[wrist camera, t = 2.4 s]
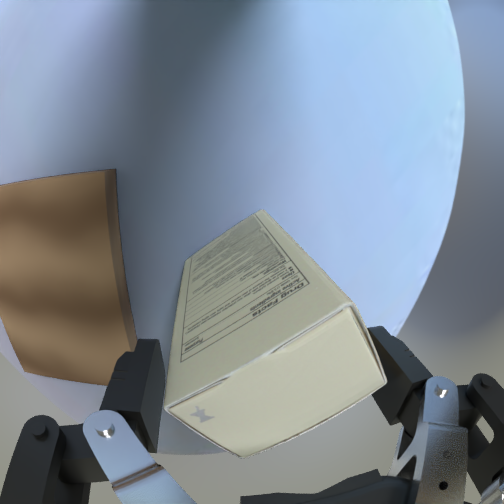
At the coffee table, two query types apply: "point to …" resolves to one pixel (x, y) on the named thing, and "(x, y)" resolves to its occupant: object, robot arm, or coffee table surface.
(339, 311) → the skincare box
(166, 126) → the coffee table surface
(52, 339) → the walnut board
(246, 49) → the coffee table surface
